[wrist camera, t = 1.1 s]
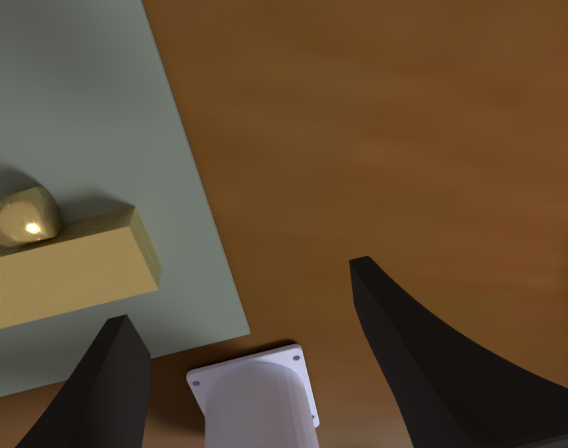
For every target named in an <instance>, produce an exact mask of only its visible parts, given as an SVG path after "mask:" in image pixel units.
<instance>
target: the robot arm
mask: <svg viewBox="0 0 568 448" xmlns="http://www.w3.org/2000/svg"><path fill="white" fill-rule="evenodd" d="M349 264H350V273H351V282H352V291H353V300H354V306H355V309H356V312H357V315H358V317H359V320H360V323H361V326H362V329H363V332H364V334H365V336H366V338H367V340H368V342H369V345H370V347H371V349H372V351H373V353H374V355H375V357H376V359H377V361H378V363H379V365H380V367H381V370H382V372H383V374H384V376H385V378H386V380H387V382H388V384H389V386H390V388H391V390H392V392H393V395H394V397H395V399H396V401H397V404H398V406H399V409H400V411H401V414H402V417H403V419H404V422H405V425H406V427H407V430H408V433H409V436H410V438H411V441H412V444H413V447H414V448H568V388H565V387H563V386H561V385H558V384H556V383H553V382H551V381H549V380H546V379H544V378H542V377H539V376H537V375H535V374H533V373H531V372H529V371H527V370H525V369H523V368H521V367H519V366H517V365H515V364H513V363H511V362H509V361H507V360H506V359H504V358H502V357H500V356H498V355H496V354H495V353H493V352H491V351H489V350H487V349H485V348H484V347H482V346H480V345H479V344H477V343H475V342H474V341H472V340H471V339H469V338H467V337H466V336H464V335H463V334H461V333H460V332H458V331H457V330H455V329H454V328H452V327H451V326H449V325H448V324H446V323H445V322H444V321H442V320H441V319H439V318H438V317H437V316H435V315H434V314H433V313H431V312H430V311H429V310H428V309H426V308H425V307H424V306H422V305H421V304H420V303H419V302H418V301H416V300H415V299H414V298H413V297H412V296H410V295H409V294H408V293H407V292H406V291H405V290H404V289H402V288H401V287H400V286H399V285H398V284H397V283H396V282H395V281H394V280H393V279H392V278H390V277H389V276H388V275H387V274H386V273H385V272H384V271H383V270H382V269H381V268H380V267H379V266H378V265H377V264H376V263H375V261H374V260H373V259H372V258H371V257H369V256H365V257H361V258H356V259H352V260H349ZM296 355H297V356H296ZM150 379H151V354H150V352H149V351H148V349H147V347H146V346H145V344H144V342H143V341H142V339H141V337H140V335H139V334H138V332H137V330H136V329H135V327H134V325H133V324H132V322H131V320H130V319H129V317H128V315H127V314H125V315H121V316H117V317H113V318H109V319H107V321H106V322H105V324H104V325H103V327H102V328H101V330H100V331H99V333H98V334H97V336H96V338H95V339H94V341H93V342H92V344H91V345H90V347H89V348H88V350H87V351H86V353H85V355H84V356H83V358H82V359H81V361H80V362H79V364H78V365H77V367H76V368H75V370H74V371H73V373H72V374H71V376H70V377H69V379H68V380H67V381H66V383H65V384H64V386H63V387H62V388H61V390H60V391H59V392H58V394H57V395H56V397H55V398H54V399H53V401H52V402H51V403H50V405H49V406H48V408H47V409H46V410H45V412H44V413H43V414H42V416H41V417H40V418H39V419H38V421H37V422H36V423H35V424H34V426H33V427H32V428H31V429H30V430H29V432H28V433H27V434H26V435H25V436H24V438H23V439H22V440H21V441H20V442H19V444H18V445H17V446H16V447H15V448H141V447H142V440H143V434H144V427H145V420H146V413H147V406H148V399H149V392H150ZM186 379H187V382H188V384H189V386H190V388H191V390H192V392H193V394H194V396H195V398H196V400H197V402H198V404H199V406H200V408H201V410H202V412H203V414H204V416H205V448H319V445H318V440H317V436H316V432H315V427H317V426H318V425H319V419H318V415H317V411H316V406H315V402H314V398H313V394H312V390H311V386H310V381H309V377H308V373H307V369H306V365H305V361H304V357H303V352H302V348H301V346H300V345H298V344H292V345H288V346H284V347H281V348H277V349H273V350H269V351H265V352H261V353H257V354H253V355H249V356H245V357H241V358H237V359H233V360H229V361H225V362H221V363H217V364H214V365H210V366H206V367H202V368H198V369H194V370H191V371H189V372H188V373H187V376H186Z"/></svg>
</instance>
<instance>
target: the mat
mask: <svg viewBox="0 0 568 448" xmlns="http://www.w3.org/2000/svg"><path fill="white" fill-rule="evenodd" d="M35 187H43V188H45V189H46V190H47V191H49V192H50V194H51V195H52V196H53V198H54V199H55V201H56V203H57V205H58V208H59V211H60V215H61V224H62V223H66V222H71V221H75V220H79V219H83V218H87V217H91V216H96V215H100V214H104V213H108V212H112V211H117V210H121V209H125V208H129V207H133V206H136V208H137V210H138V213H139V215H140V217H141V220H142V222H143V224H144V226H145V229H146V231H147V233H148V235H149V238H150V240H151V242H152V245H153V247H154V249H155V251H156V254H157V256H158V258H159V260H160V263H161V265H162V272H161V278H160V284H159V290H156V291H152V292H148V293H144V294H140V295H136V296H132V297H128V298H124V299H119V300H115V301H111V302H107V303H103V304H99V305H95V306H91V307H87V308H83V309H79V310H75V311H71V312H67V313H63V314H59V315H55V316H50V317H46V318H42V319H38V320H34V321H30V322H26V323H22V324H18V325H14V326H10V327H6V328H2V329H0V397H1V396H5V395H9V394H13V393H17V392H21V391H25V390H29V389H33V388H37V387H41V386H45V385H49V384H53V383H57V382H61V381H65V380H68V379H69V377H70V376H71V374H72V373H73V371H74V370H75V368H76V367H77V365H78V364H79V362H80V361H81V359H82V358H83V356H84V355H85V353H86V351H87V350H88V348H89V347H90V345H91V344H92V342H93V341H94V339H95V338H96V336H97V334H98V333H99V331H100V330H101V328H102V327H103V325H104V324H105V322H106V321H107V319H109V318H113V317H117V316H121V315H125V314H127V315H128V317H129V319H130V320H131V322H132V324H133V325H134V327H135V329H136V330H137V332H138V334H139V335H140V337H141V339H142V341H143V342H144V344H145V346H146V347H147V349H148V351H149V352H150V354H151V359H152V358H156V357H160V356H164V355H168V354H172V353H176V352H180V351H184V350H188V349H192V348H196V347H200V346H204V345H208V344H212V343H216V342H220V341H224V340H228V339H231V338H235V337H239V336H243V335H247V334H250V329H249V326H248V323H247V320H246V317H245V314H244V311H243V307H242V304H241V301H240V298H239V295H238V292H237V289H236V286H235V283H234V280H233V277H232V274H231V271H230V268H229V265H228V262H227V259H226V256H225V253H224V250H223V247H222V244H221V241H220V238H219V235H218V231H217V228H216V225H215V222H214V219H213V216H212V213H211V210H210V207H209V204H208V201H207V198H206V195H205V192H204V189H203V186H202V183H201V180H200V177H199V174H198V171H197V168H196V165H195V162H194V159H193V155H192V152H191V149H190V146H189V143H188V140H187V137H186V134H185V131H184V128H183V125H182V122H181V119H180V116H179V113H178V110H177V107H176V104H175V101H174V98H173V95H172V92H171V89H170V86H169V83H168V79H167V76H166V73H165V70H164V67H163V64H162V61H161V58H160V55H159V52H158V49H157V46H156V43H155V40H154V37H153V34H152V31H151V28H150V25H149V22H148V19H147V16H146V13H145V10H144V7H143V3H142V0H0V196H1V195H5V194H10V193H14V192H18V191H22V190H27V189H31V188H35Z"/></svg>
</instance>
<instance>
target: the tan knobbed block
mask: <svg viewBox="0 0 568 448" xmlns="http://www.w3.org/2000/svg"><path fill="white" fill-rule="evenodd" d="M161 272H162V265H161V263H160V260H159V258H158V256H157V254H156V251H155V249H154V247H153V245H152V242H151V240H150V238H149V235H148V233H147V231H146V229H145V226H144V224H143V222H142V220H141V217H140V215H139V213H138V210H137V208H136V206H133V207H129V208H125V209H121V210H117V211H112V212H108V213H104V214H100V215H96V216H91V217H87V218H83V219H79V220H75V221H71V222H66V223H62V224H61V215H60V211H59V208H58V205H57V203H56V201H55V199H54V198H53V196H52V195H51V194H50V192H49V191H47V190H46V189H45V188H43V187H35V188H31V189H27V190H22V191H18V192H14V193H10V194H5V195H1V196H0V329H2V328H6V327H10V326H14V325H18V324H22V323H26V322H30V321H34V320H38V319H42V318H46V317H50V316H55V315H59V314H63V313H67V312H71V311H75V310H79V309H83V308H87V307H91V306H95V305H99V304H103V303H107V302H111V301H115V300H119V299H124V298H128V297H132V296H136V295H140V294H144V293H148V292H152V291H156V290H159V284H160V278H161Z"/></svg>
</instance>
